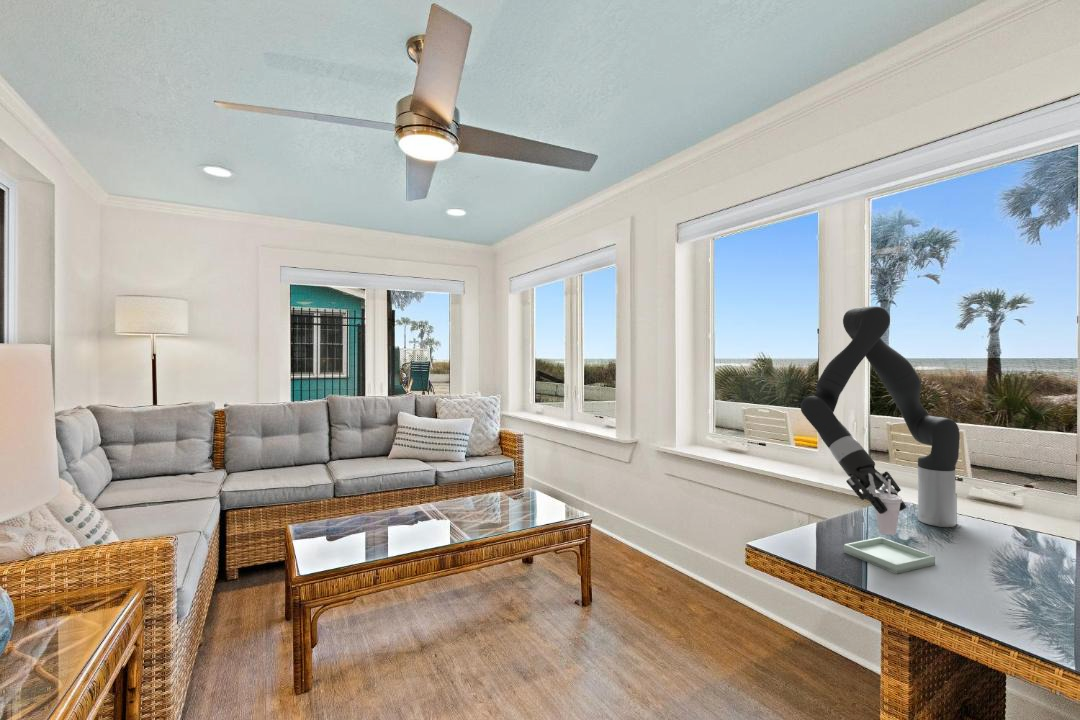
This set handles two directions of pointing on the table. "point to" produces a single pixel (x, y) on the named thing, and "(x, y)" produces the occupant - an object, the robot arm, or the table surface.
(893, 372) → the robot arm
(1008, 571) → the table surface
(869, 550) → the tray
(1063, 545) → the table surface
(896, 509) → the smoothie
